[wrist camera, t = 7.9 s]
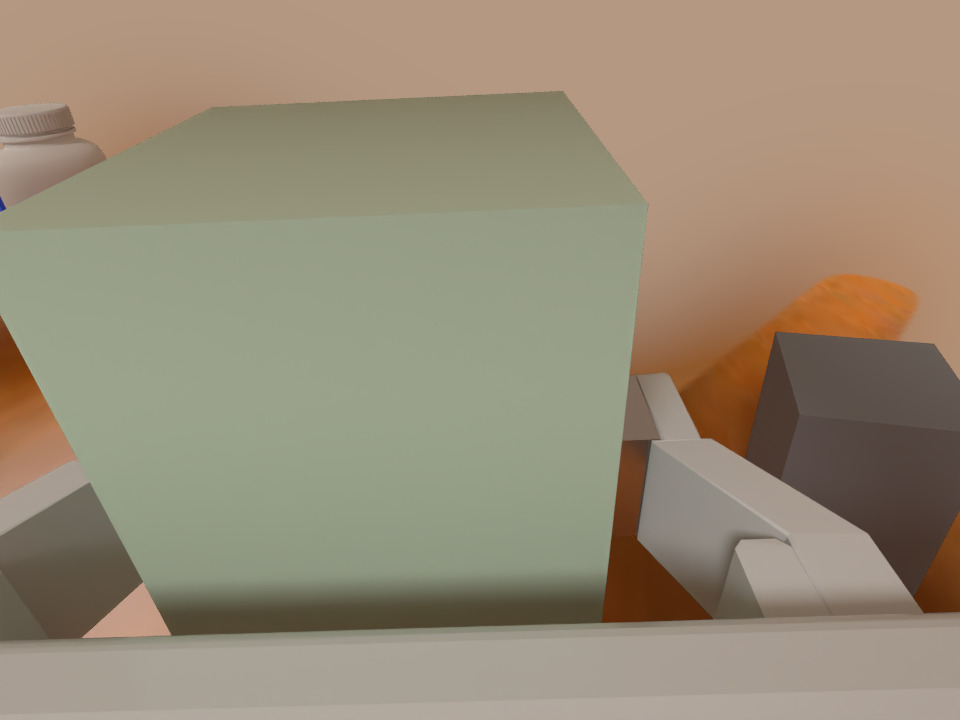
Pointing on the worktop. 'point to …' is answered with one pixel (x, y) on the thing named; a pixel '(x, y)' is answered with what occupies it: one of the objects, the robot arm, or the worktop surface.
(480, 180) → the sage block
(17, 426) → the worktop surface
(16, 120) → the pill bottle
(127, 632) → the worktop surface
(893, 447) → the charcoal block
